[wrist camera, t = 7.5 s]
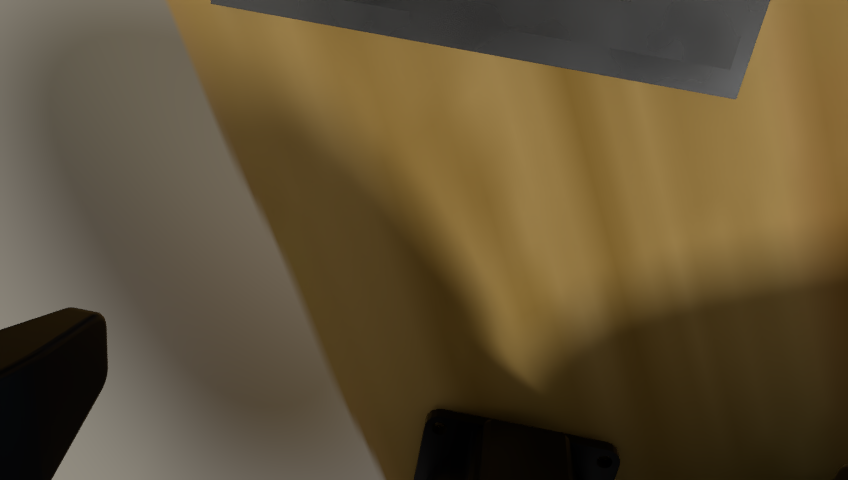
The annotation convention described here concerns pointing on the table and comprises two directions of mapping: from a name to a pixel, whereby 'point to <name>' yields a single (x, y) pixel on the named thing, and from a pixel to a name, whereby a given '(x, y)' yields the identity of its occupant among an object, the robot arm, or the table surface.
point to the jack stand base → (566, 33)
